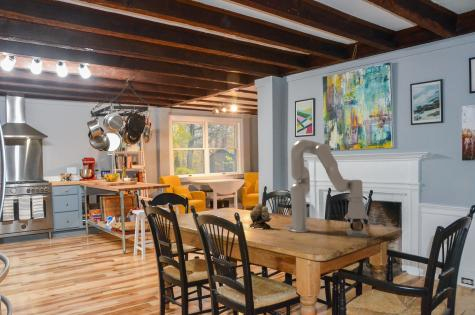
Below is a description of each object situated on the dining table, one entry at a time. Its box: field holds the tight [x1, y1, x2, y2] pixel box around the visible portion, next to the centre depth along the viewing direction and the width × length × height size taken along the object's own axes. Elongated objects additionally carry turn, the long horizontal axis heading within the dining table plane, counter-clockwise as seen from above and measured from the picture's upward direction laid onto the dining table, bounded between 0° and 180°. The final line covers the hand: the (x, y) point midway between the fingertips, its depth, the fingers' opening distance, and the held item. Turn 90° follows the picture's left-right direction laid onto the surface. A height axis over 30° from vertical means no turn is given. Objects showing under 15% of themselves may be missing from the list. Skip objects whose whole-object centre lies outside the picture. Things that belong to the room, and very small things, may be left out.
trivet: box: [345, 230, 370, 238], centre depth 228 cm, size 12×12×2 cm
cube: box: [352, 221, 363, 231], centre depth 229 cm, size 5×5×5 cm
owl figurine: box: [248, 203, 272, 229], centre depth 260 cm, size 18×12×17 cm, turn 49°
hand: (356, 229), depth 229 cm, fingers closed on cube, 4 cm apart
